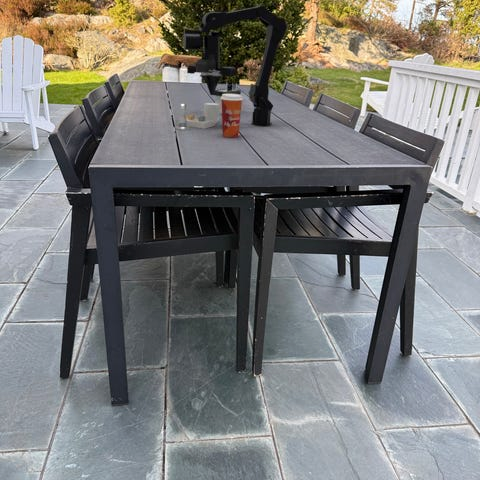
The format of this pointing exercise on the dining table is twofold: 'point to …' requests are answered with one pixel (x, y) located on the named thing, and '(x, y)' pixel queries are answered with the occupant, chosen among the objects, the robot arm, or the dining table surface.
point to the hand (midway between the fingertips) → (211, 94)
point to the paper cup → (231, 114)
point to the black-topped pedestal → (228, 90)
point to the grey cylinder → (212, 111)
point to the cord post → (182, 117)
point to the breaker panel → (199, 122)
